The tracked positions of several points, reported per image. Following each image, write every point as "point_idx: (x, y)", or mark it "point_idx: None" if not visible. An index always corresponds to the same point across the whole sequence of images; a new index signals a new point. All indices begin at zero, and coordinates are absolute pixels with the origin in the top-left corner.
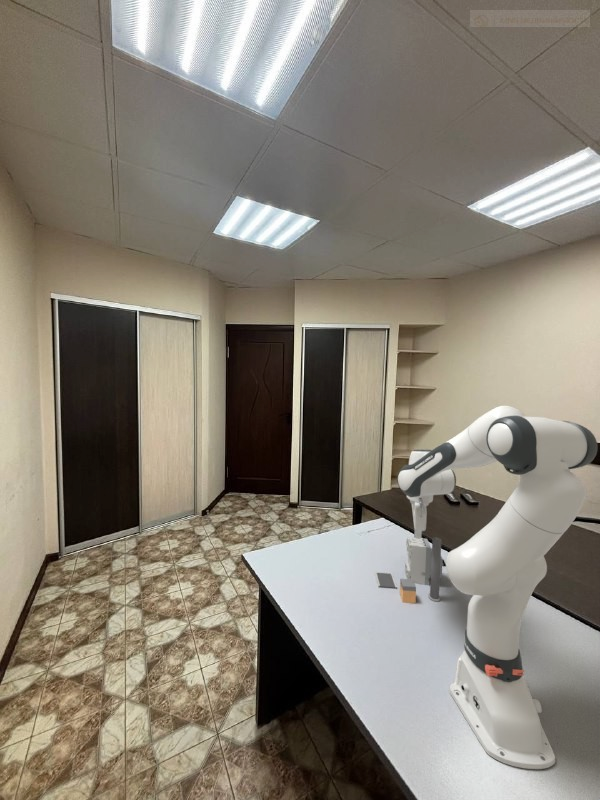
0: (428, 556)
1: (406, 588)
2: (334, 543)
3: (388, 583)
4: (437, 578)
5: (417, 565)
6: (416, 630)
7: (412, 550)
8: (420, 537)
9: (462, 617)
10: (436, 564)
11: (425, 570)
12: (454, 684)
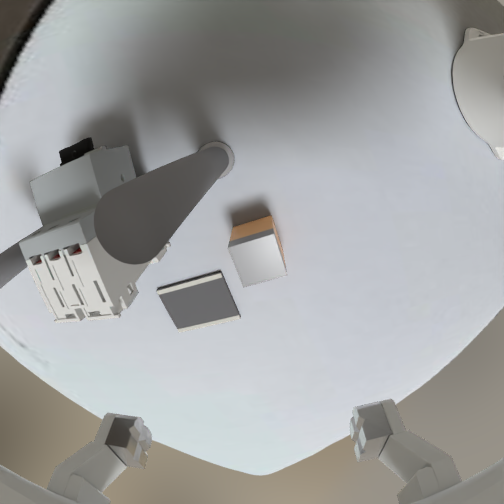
0: None
1: (283, 261)
2: (117, 406)
3: (213, 296)
4: (215, 161)
5: None
6: (386, 209)
7: (122, 291)
8: (394, 407)
9: (279, 79)
10: (207, 178)
11: None
12: (499, 150)
